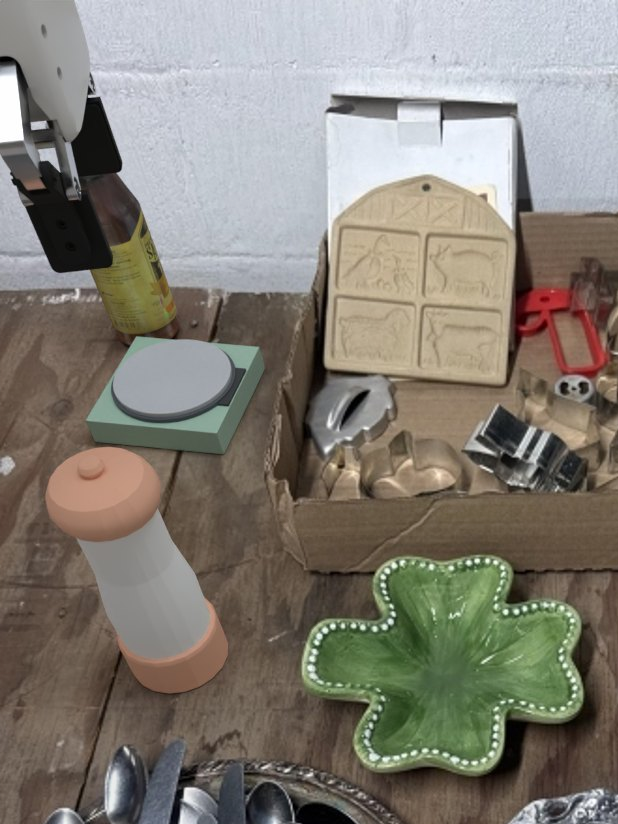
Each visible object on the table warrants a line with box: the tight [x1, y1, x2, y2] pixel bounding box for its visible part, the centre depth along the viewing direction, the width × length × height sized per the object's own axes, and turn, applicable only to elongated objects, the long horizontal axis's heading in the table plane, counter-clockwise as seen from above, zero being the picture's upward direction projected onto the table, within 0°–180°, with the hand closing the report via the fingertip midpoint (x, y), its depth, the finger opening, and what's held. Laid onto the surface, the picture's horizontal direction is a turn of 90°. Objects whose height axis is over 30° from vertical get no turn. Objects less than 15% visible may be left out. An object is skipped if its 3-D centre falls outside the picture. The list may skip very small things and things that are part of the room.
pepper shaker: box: [44, 446, 229, 694], centre depth 73 cm, size 7×7×19 cm
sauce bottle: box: [45, 121, 180, 347], centre depth 96 cm, size 7×6×20 cm
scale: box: [85, 336, 266, 455], centre depth 96 cm, size 12×12×3 cm
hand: (90, 217), depth 60 cm, fingers open, 9 cm apart
